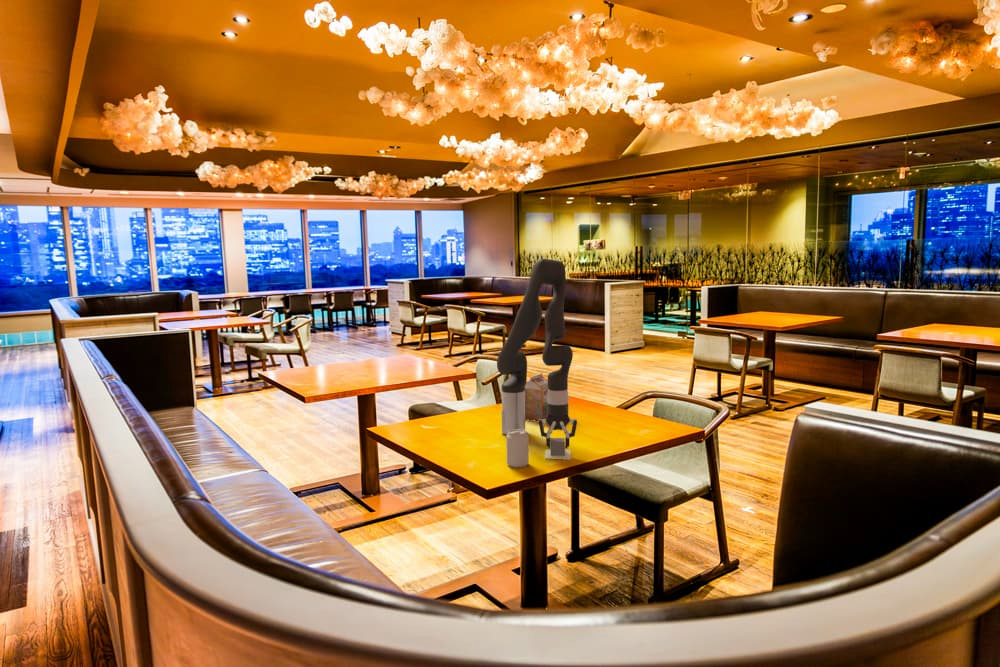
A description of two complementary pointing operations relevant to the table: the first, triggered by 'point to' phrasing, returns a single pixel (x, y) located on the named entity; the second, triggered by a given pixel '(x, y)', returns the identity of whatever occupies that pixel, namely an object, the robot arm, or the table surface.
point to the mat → (567, 456)
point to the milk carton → (536, 398)
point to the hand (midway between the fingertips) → (557, 447)
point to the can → (517, 448)
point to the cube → (557, 446)
